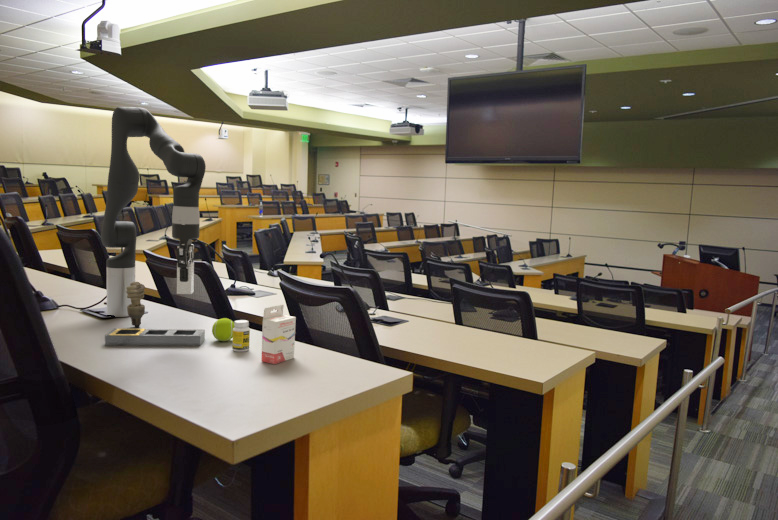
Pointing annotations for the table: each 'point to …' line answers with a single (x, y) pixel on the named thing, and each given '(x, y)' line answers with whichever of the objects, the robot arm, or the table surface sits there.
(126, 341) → the grey long flat frame
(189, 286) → the brushed metal square block
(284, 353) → the ink cartridge box
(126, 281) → the robot arm
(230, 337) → the tennis ball
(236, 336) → the supplement bottle
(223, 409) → the table surface
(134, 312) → the beige stone carving
